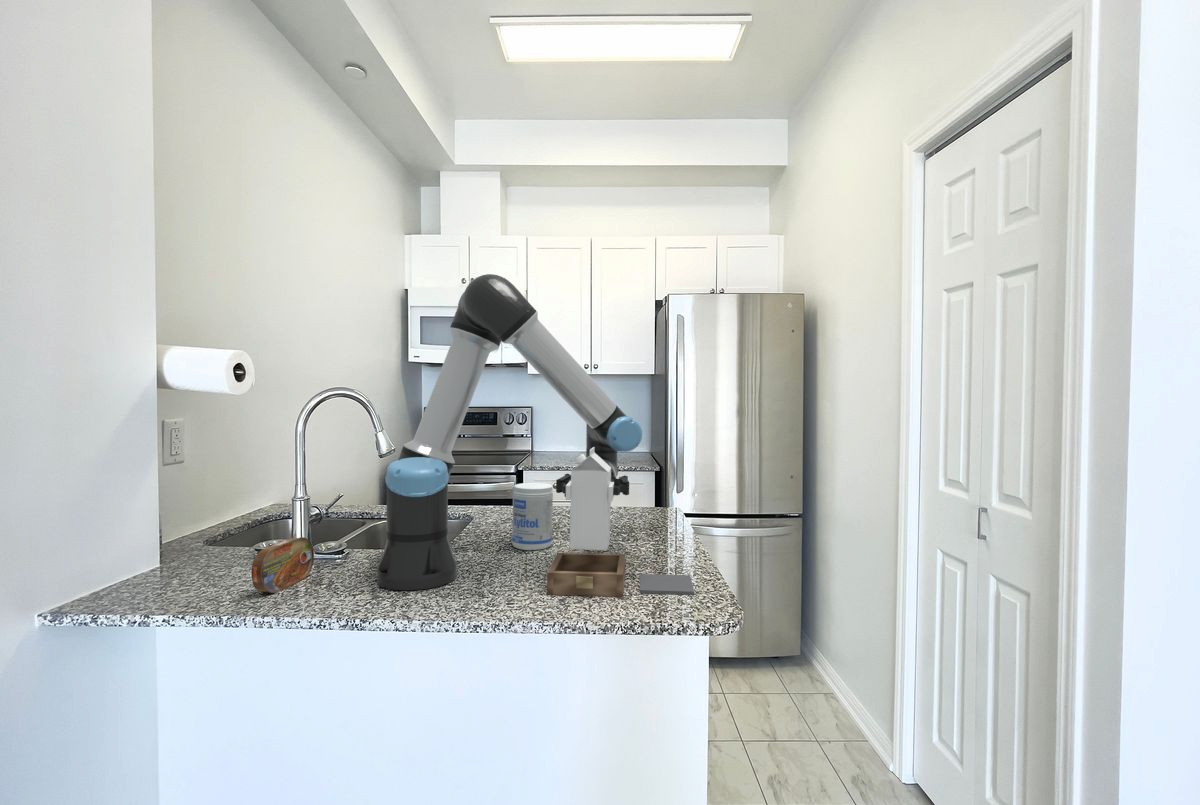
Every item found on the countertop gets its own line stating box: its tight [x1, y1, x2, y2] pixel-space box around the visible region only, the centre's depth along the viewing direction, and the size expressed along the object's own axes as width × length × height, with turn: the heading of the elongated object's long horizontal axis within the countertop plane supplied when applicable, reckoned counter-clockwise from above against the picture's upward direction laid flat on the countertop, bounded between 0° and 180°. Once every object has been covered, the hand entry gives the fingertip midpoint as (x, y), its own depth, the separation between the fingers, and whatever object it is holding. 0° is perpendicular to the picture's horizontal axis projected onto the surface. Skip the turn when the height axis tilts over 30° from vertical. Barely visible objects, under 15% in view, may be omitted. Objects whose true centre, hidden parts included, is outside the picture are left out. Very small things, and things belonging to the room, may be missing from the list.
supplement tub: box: [511, 482, 554, 551], centre depth 146 cm, size 10×10×15 cm
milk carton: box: [569, 447, 612, 551], centre depth 118 cm, size 7×7×19 cm
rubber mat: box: [639, 573, 695, 596], centre depth 117 cm, size 10×10×1 cm
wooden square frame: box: [546, 552, 627, 598], centre depth 117 cm, size 14×15×4 cm
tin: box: [251, 536, 315, 594], centre depth 116 cm, size 15×3×8 cm, turn 171°
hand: (589, 493), depth 113 cm, fingers closed on milk carton, 7 cm apart
